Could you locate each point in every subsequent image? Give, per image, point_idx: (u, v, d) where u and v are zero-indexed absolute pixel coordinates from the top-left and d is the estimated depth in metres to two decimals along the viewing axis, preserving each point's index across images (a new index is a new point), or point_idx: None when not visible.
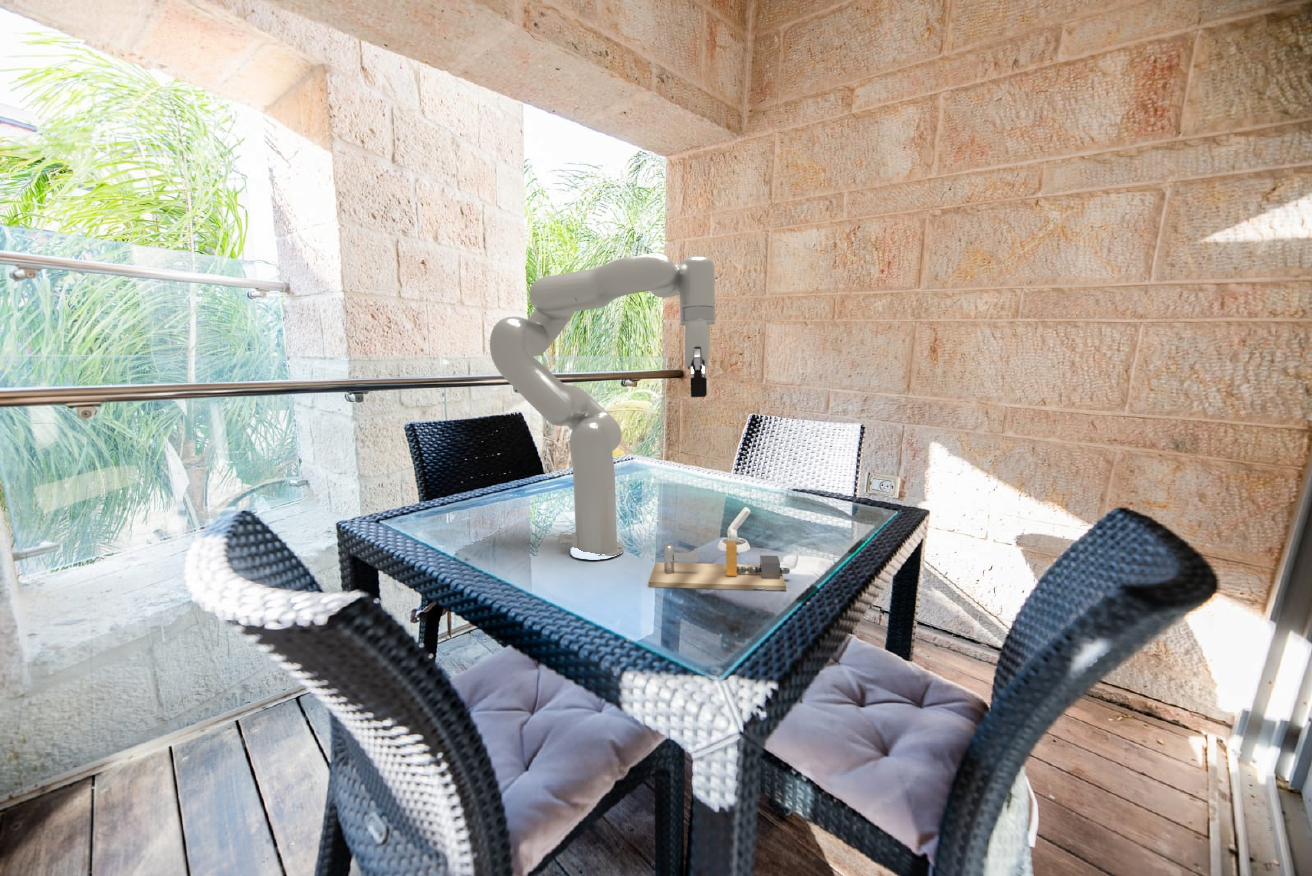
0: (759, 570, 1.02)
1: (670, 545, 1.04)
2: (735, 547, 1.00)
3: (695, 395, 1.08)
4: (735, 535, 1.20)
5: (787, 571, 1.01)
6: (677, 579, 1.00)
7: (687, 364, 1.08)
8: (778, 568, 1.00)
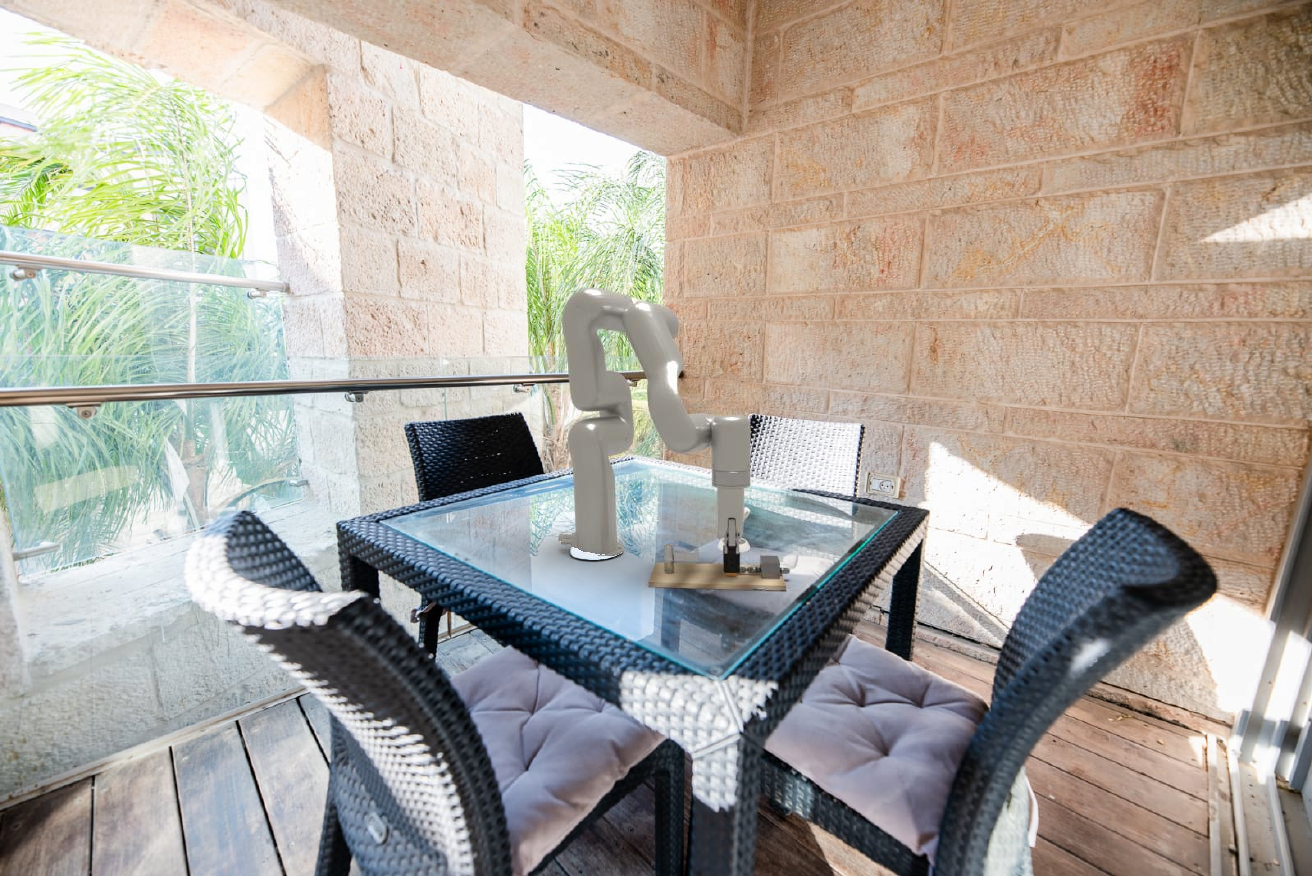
0: (759, 570, 1.02)
1: (670, 545, 1.04)
2: None
3: (728, 571, 1.00)
4: None
5: (787, 571, 1.01)
6: (677, 579, 1.00)
7: (720, 536, 0.97)
8: (778, 568, 1.00)
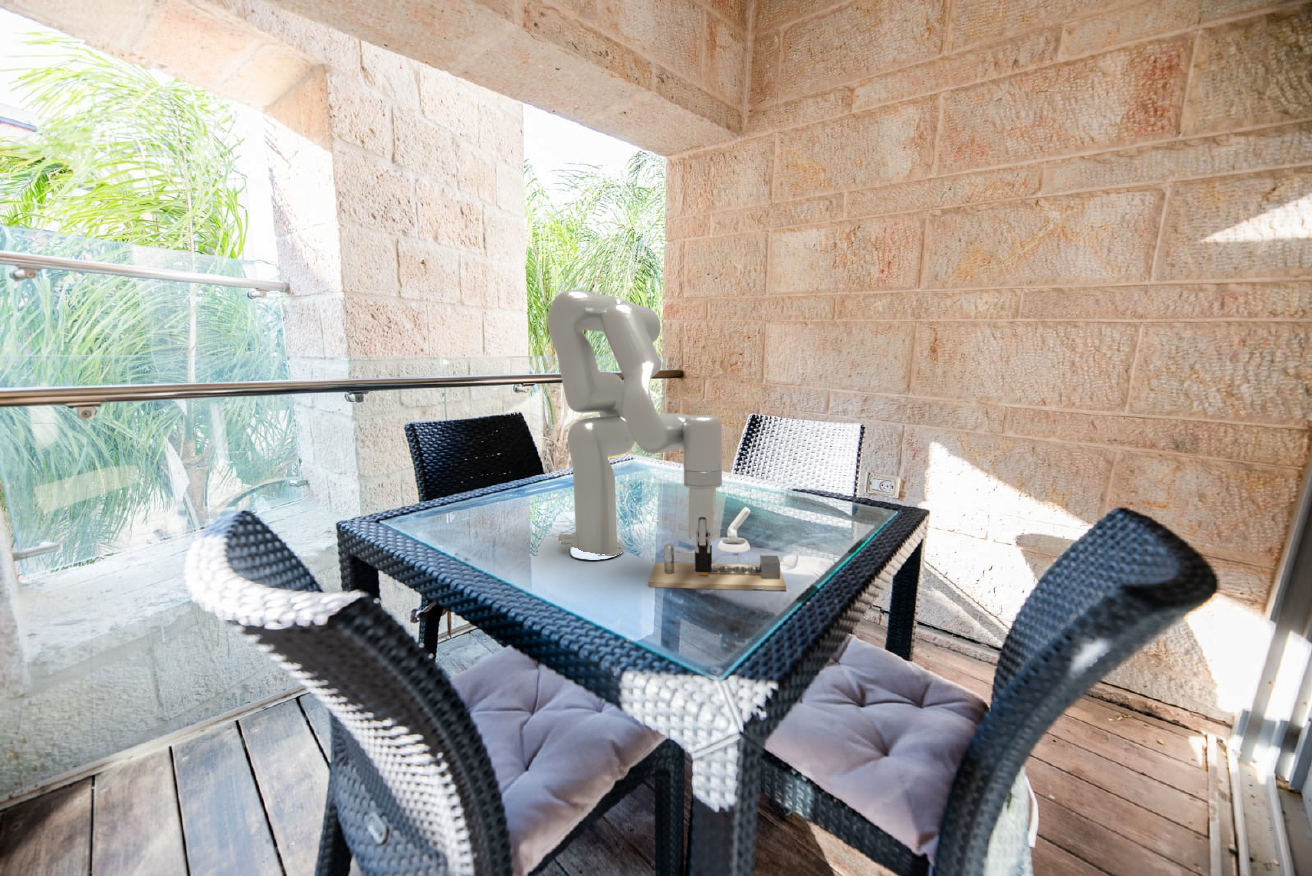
0: (731, 569, 1.02)
1: (670, 545, 1.04)
2: None
3: (700, 570, 1.01)
4: (735, 535, 1.20)
5: (758, 570, 1.02)
6: (677, 579, 1.00)
7: (691, 535, 0.98)
8: (778, 568, 1.00)
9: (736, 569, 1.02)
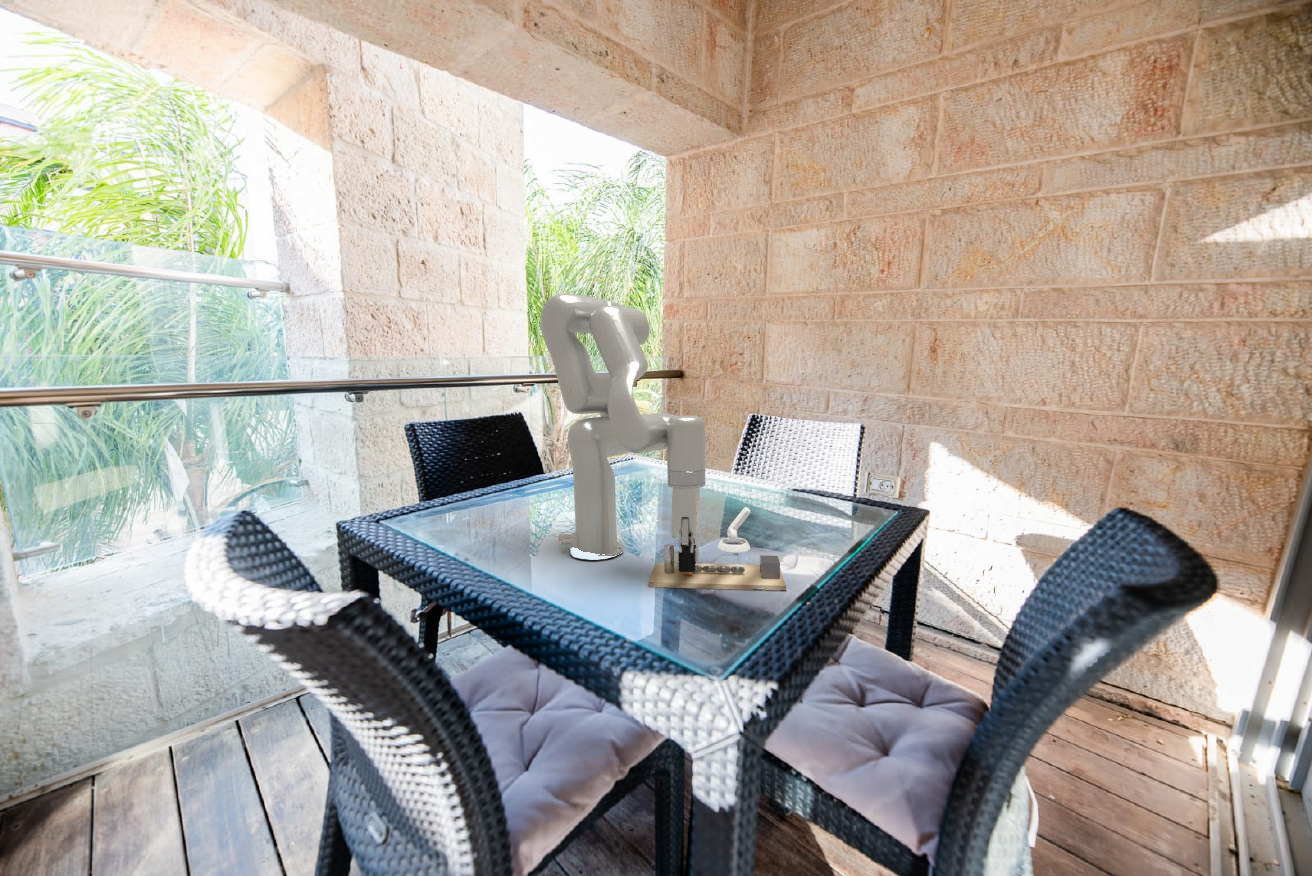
0: (714, 569, 1.03)
1: (670, 545, 1.04)
2: None
3: (683, 570, 1.02)
4: (735, 535, 1.20)
5: (742, 570, 1.02)
6: (677, 579, 1.00)
7: (674, 535, 0.99)
8: (778, 568, 1.00)
9: (720, 569, 1.03)
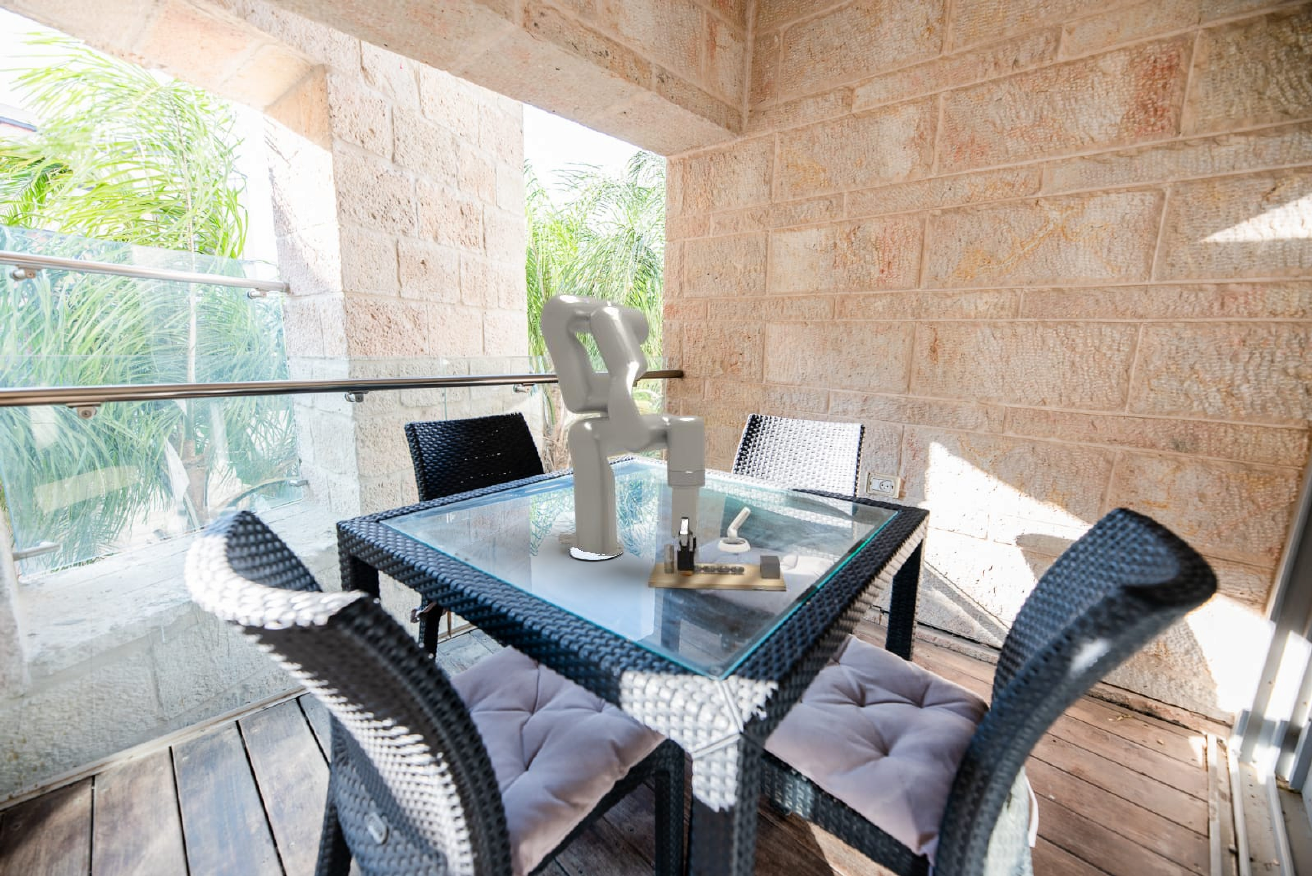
0: (714, 569, 1.03)
1: (670, 545, 1.04)
2: None
3: (682, 568, 0.99)
4: (735, 535, 1.20)
5: (742, 570, 1.02)
6: (677, 579, 1.00)
7: (673, 535, 0.99)
8: (778, 568, 1.00)
9: (719, 569, 1.03)
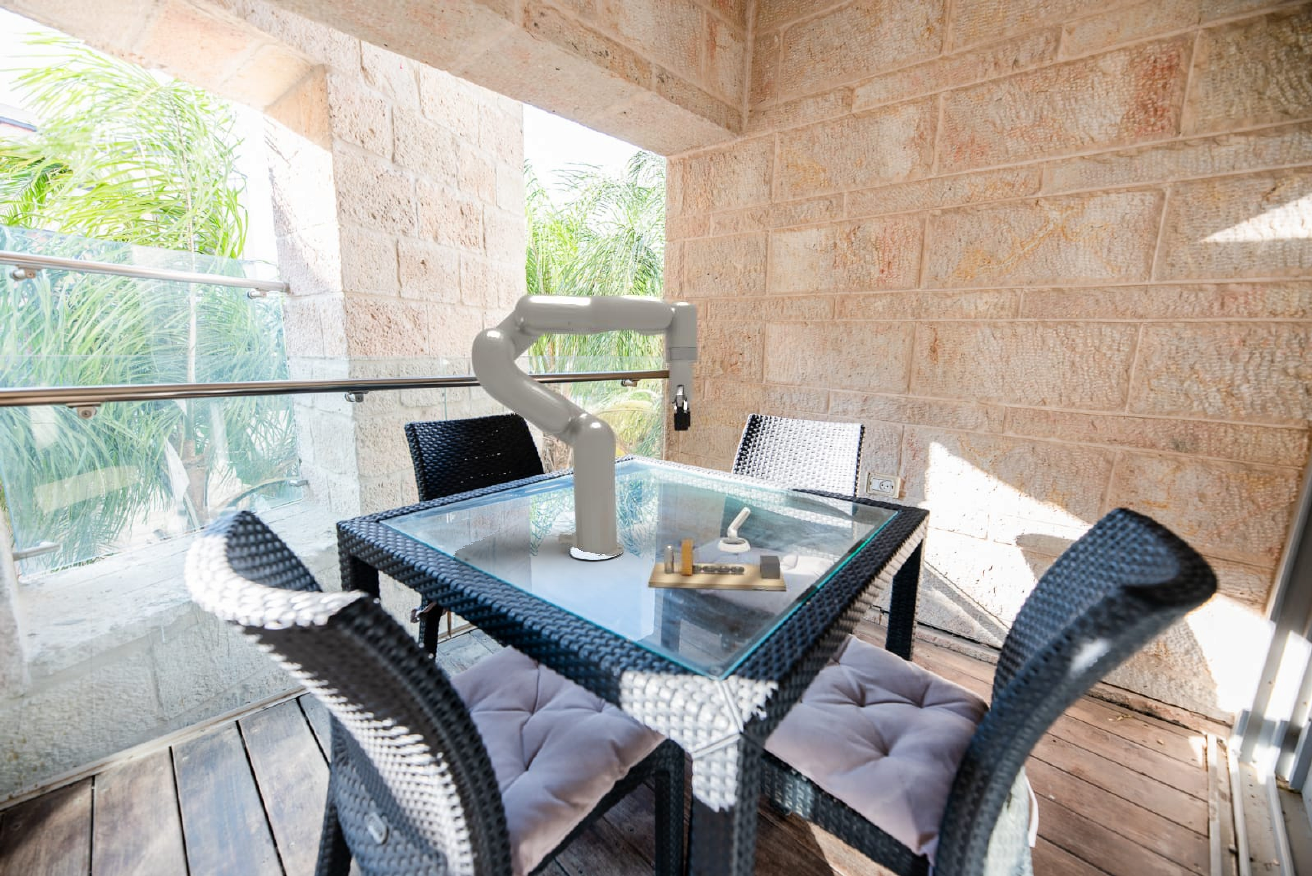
0: (714, 569, 1.03)
1: (670, 545, 1.04)
2: (690, 546, 1.02)
3: (678, 429, 1.18)
4: (735, 535, 1.20)
5: (742, 570, 1.02)
6: (677, 579, 1.00)
7: (671, 400, 1.18)
8: (778, 568, 1.00)
9: (719, 569, 1.03)
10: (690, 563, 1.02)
